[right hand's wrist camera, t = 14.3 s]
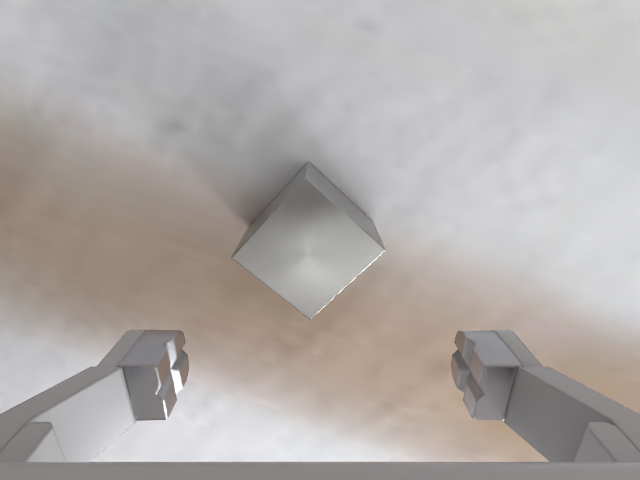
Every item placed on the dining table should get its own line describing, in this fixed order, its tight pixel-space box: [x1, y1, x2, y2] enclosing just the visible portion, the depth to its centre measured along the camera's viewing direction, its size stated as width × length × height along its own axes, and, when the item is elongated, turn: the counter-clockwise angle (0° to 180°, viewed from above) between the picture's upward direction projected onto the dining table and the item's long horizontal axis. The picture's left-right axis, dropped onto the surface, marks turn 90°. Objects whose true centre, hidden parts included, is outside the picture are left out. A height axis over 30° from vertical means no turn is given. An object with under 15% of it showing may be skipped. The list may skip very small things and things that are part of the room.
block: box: [231, 162, 386, 319], centre depth 17 cm, size 5×5×4 cm
